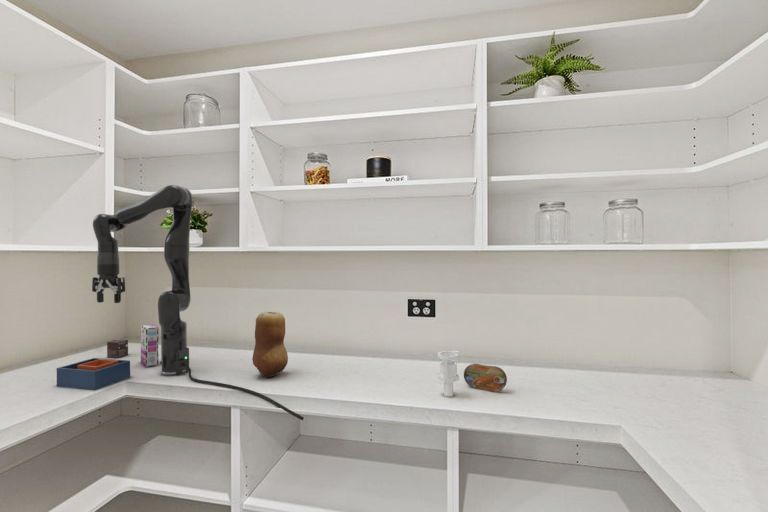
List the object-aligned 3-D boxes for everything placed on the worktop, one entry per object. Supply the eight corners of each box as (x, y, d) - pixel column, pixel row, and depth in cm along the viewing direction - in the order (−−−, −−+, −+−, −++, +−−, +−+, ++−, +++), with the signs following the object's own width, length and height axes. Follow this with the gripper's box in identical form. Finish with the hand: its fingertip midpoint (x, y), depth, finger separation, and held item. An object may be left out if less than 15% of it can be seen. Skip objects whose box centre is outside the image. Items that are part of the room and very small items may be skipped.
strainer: (456, 399, 131) (456, 353, 131) (435, 396, 134) (435, 351, 134) (461, 392, 138) (460, 349, 137) (441, 390, 140) (440, 347, 140)
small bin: (118, 377, 155) (118, 360, 155) (96, 384, 146) (96, 366, 146) (100, 375, 157) (100, 358, 157) (77, 382, 148) (77, 365, 148)
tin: (463, 386, 144) (463, 362, 144) (466, 383, 147) (466, 360, 147) (505, 394, 136) (505, 369, 136) (508, 391, 139) (508, 367, 139)
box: (117, 358, 185) (117, 342, 185) (106, 357, 186) (106, 341, 186) (128, 355, 191) (128, 339, 191) (117, 354, 192) (117, 339, 192)
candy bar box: (159, 365, 173) (158, 327, 173) (146, 367, 170) (145, 328, 169) (153, 360, 181) (152, 323, 181) (140, 362, 178) (140, 325, 178)
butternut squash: (294, 375, 158) (294, 311, 158) (263, 383, 148) (262, 315, 148) (275, 368, 167) (275, 308, 167) (245, 375, 158) (244, 312, 158)
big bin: (130, 377, 156) (130, 360, 156) (95, 390, 142) (94, 371, 142) (94, 374, 161) (94, 357, 160) (56, 386, 146) (56, 368, 146)
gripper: (130, 263, 167) (130, 302, 167) (102, 262, 170) (103, 301, 171) (114, 263, 160) (114, 304, 160) (85, 263, 163) (86, 303, 163)
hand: (108, 302), depth 165 cm, fingers open, 8 cm apart
